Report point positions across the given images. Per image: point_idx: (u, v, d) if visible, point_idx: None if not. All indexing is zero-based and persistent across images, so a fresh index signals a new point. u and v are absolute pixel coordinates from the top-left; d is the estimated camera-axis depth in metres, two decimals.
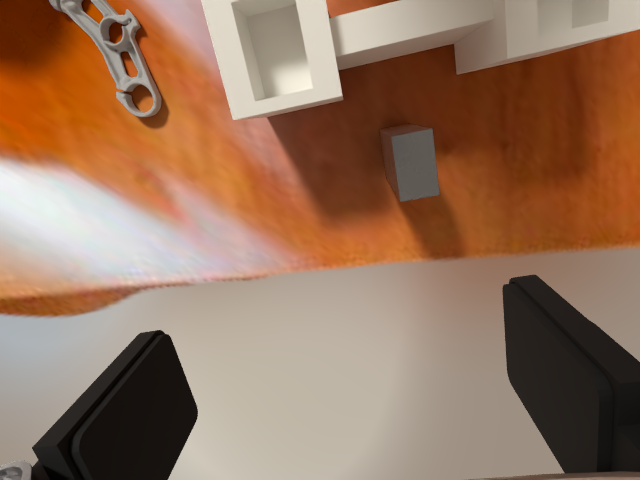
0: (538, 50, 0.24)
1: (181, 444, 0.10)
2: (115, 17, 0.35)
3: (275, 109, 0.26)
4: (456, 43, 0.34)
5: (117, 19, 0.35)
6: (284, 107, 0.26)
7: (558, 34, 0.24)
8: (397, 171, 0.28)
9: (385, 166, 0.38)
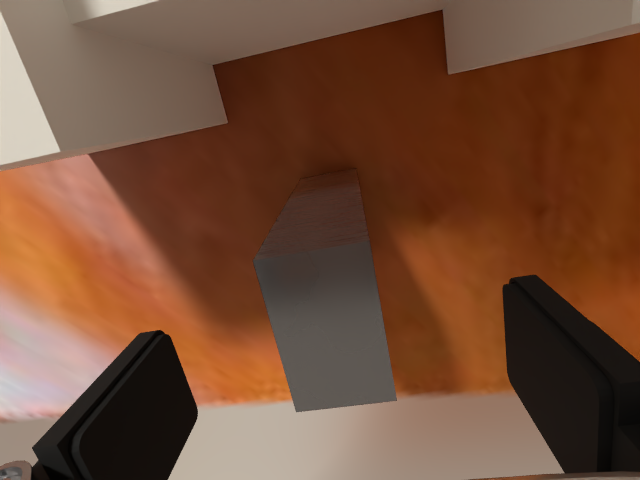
0: None
1: (181, 444, 0.10)
2: None
3: None
4: (447, 7, 0.16)
5: None
6: None
7: None
8: (280, 344, 0.10)
9: None
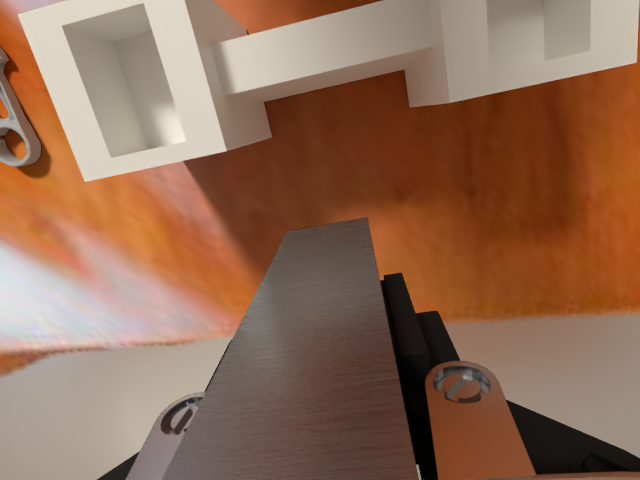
0: (492, 92, 0.17)
1: None
2: None
3: (139, 168, 0.19)
4: (406, 69, 0.27)
5: None
6: (150, 166, 0.19)
7: (519, 70, 0.17)
8: None
9: None
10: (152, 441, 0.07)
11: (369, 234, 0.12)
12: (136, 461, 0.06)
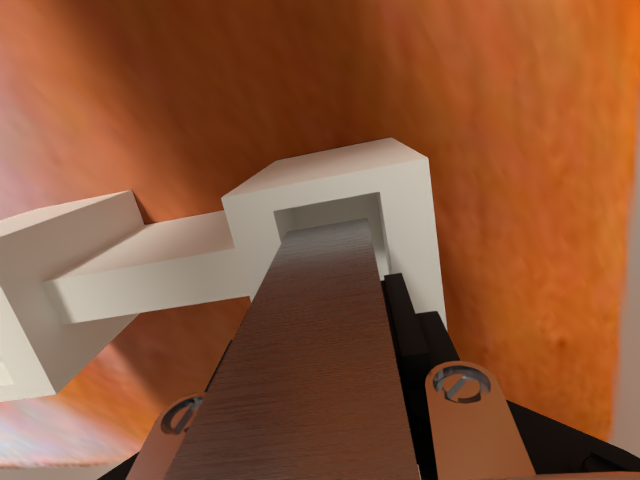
0: None
1: None
2: None
3: None
4: None
5: None
6: None
7: None
8: None
9: None
10: (152, 441, 0.07)
11: (369, 234, 0.12)
12: (136, 461, 0.06)
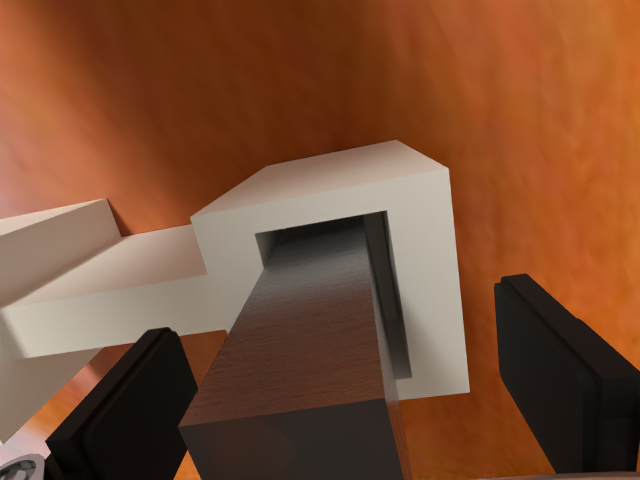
0: None
1: None
2: None
3: None
4: None
5: None
6: None
7: None
8: None
9: None
10: None
11: (361, 216, 0.13)
12: None
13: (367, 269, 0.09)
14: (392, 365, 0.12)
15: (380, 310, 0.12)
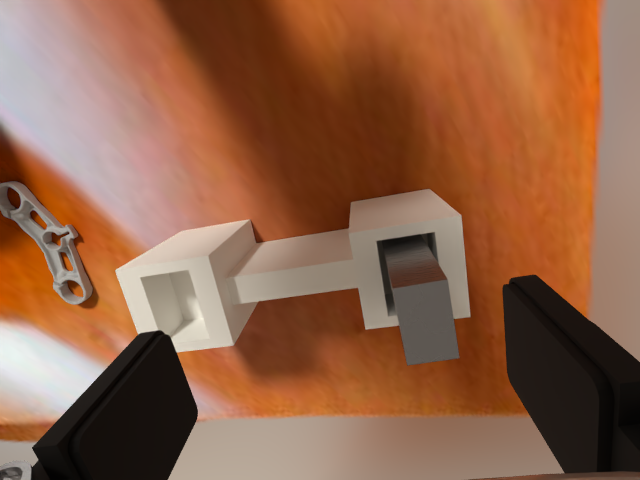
0: (389, 326, 0.29)
1: (181, 444, 0.10)
2: (56, 230, 0.42)
3: (180, 351, 0.32)
4: None
5: (57, 232, 0.42)
6: (187, 350, 0.31)
7: None
8: (402, 329, 0.21)
9: (389, 279, 0.31)
10: None
11: (420, 234, 0.29)
12: None
13: (431, 254, 0.24)
14: None
15: None
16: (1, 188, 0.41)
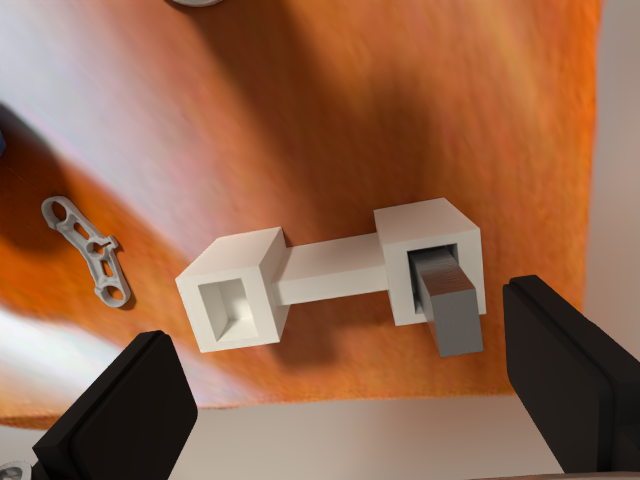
0: (416, 322, 0.34)
1: (181, 444, 0.10)
2: (98, 240, 0.45)
3: (231, 347, 0.36)
4: None
5: (100, 243, 0.45)
6: (238, 347, 0.36)
7: None
8: (437, 328, 0.26)
9: (414, 282, 0.35)
10: None
11: None
12: None
13: (457, 263, 0.29)
14: None
15: None
16: (48, 202, 0.44)
